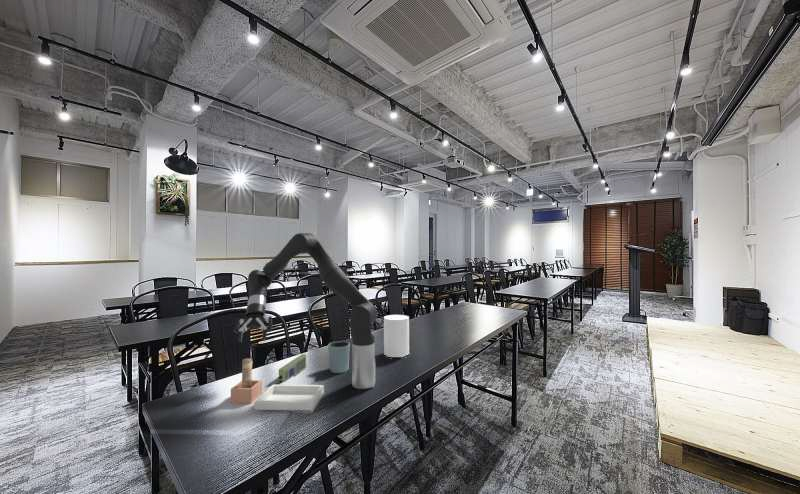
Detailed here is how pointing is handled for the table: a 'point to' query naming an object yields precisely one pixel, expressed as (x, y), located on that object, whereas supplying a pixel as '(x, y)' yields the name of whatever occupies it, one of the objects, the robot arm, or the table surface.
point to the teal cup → (339, 356)
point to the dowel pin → (247, 373)
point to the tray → (290, 398)
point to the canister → (396, 335)
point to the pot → (246, 392)
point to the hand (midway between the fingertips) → (251, 340)
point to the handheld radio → (292, 368)
